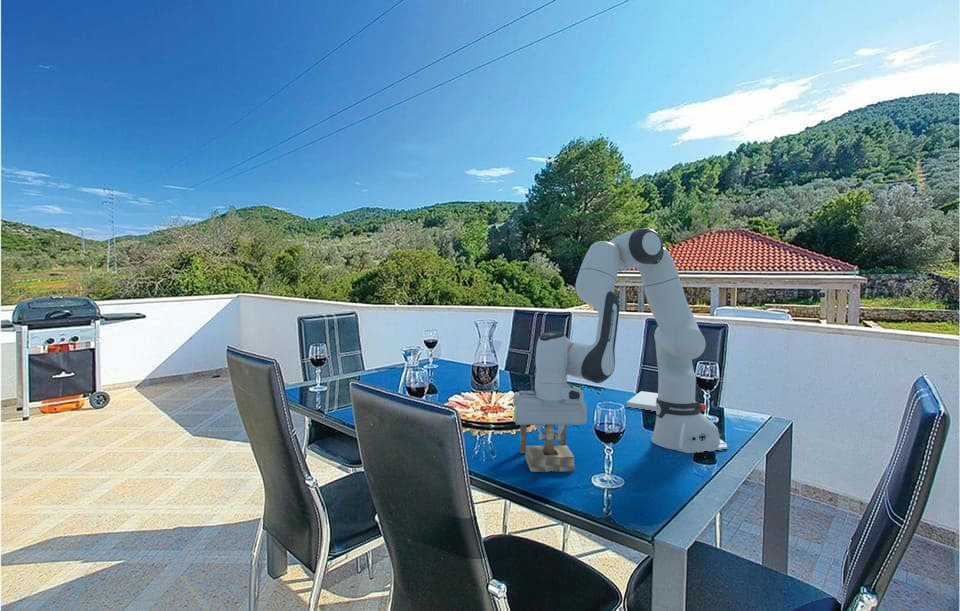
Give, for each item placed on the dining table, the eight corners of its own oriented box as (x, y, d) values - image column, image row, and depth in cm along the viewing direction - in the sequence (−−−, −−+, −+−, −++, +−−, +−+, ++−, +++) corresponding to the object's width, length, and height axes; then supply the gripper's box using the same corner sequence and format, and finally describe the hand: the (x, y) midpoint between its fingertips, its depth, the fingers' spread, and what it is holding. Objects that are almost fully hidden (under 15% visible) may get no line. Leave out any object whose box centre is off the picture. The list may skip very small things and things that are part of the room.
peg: (554, 453, 135) (555, 425, 135) (544, 453, 135) (545, 425, 135) (553, 450, 138) (553, 422, 138) (543, 450, 138) (543, 422, 138)
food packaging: (664, 415, 191) (676, 403, 207) (665, 407, 191) (676, 395, 207) (626, 410, 199) (640, 398, 216) (626, 402, 199) (640, 391, 216)
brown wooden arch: (564, 450, 149) (565, 407, 149) (569, 458, 142) (570, 414, 142) (519, 450, 149) (519, 408, 148) (522, 459, 142) (523, 414, 141)
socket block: (566, 458, 142) (566, 445, 142) (574, 471, 133) (574, 456, 133) (525, 459, 142) (526, 445, 142) (530, 471, 133) (530, 457, 133)
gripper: (514, 393, 132) (513, 443, 133) (589, 393, 133) (588, 443, 134) (512, 387, 138) (511, 435, 139) (583, 388, 139) (582, 435, 140)
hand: (549, 439), depth 136 cm, fingers closed on peg, 3 cm apart
